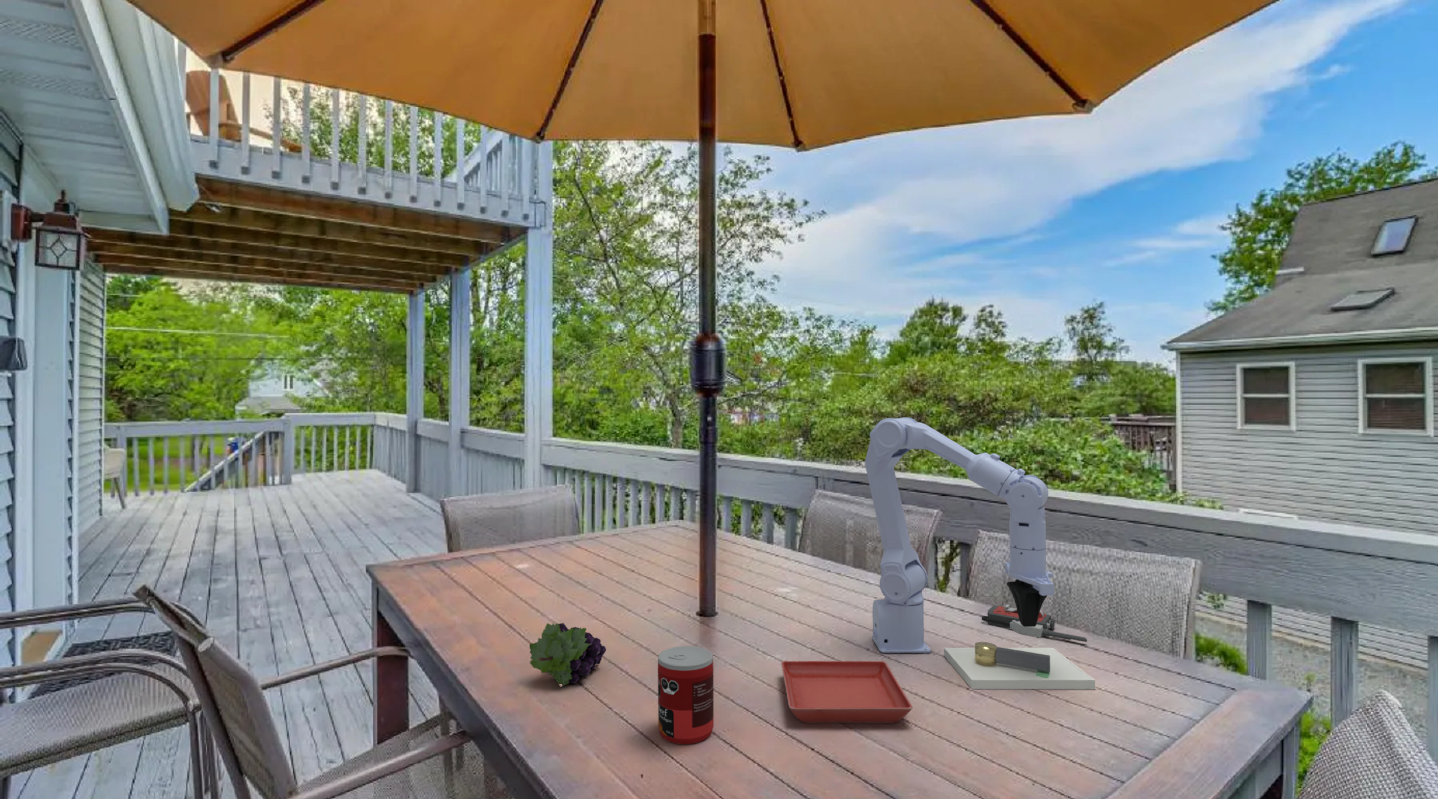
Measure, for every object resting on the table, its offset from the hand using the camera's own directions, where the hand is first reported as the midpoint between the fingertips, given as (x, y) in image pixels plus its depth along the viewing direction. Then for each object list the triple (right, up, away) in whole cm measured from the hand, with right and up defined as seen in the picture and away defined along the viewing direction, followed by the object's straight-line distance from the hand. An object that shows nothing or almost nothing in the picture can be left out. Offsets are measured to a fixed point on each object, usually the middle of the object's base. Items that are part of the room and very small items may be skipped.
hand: (1028, 625), depth 113 cm
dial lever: (-3, -7, -1) cm, 7 cm away
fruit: (-79, -9, 0) cm, 80 cm away
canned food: (-58, -9, -19) cm, 62 cm away
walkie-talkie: (+12, -9, +22) cm, 26 cm away
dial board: (-2, -8, +1) cm, 9 cm away
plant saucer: (-34, -9, -9) cm, 36 cm away
